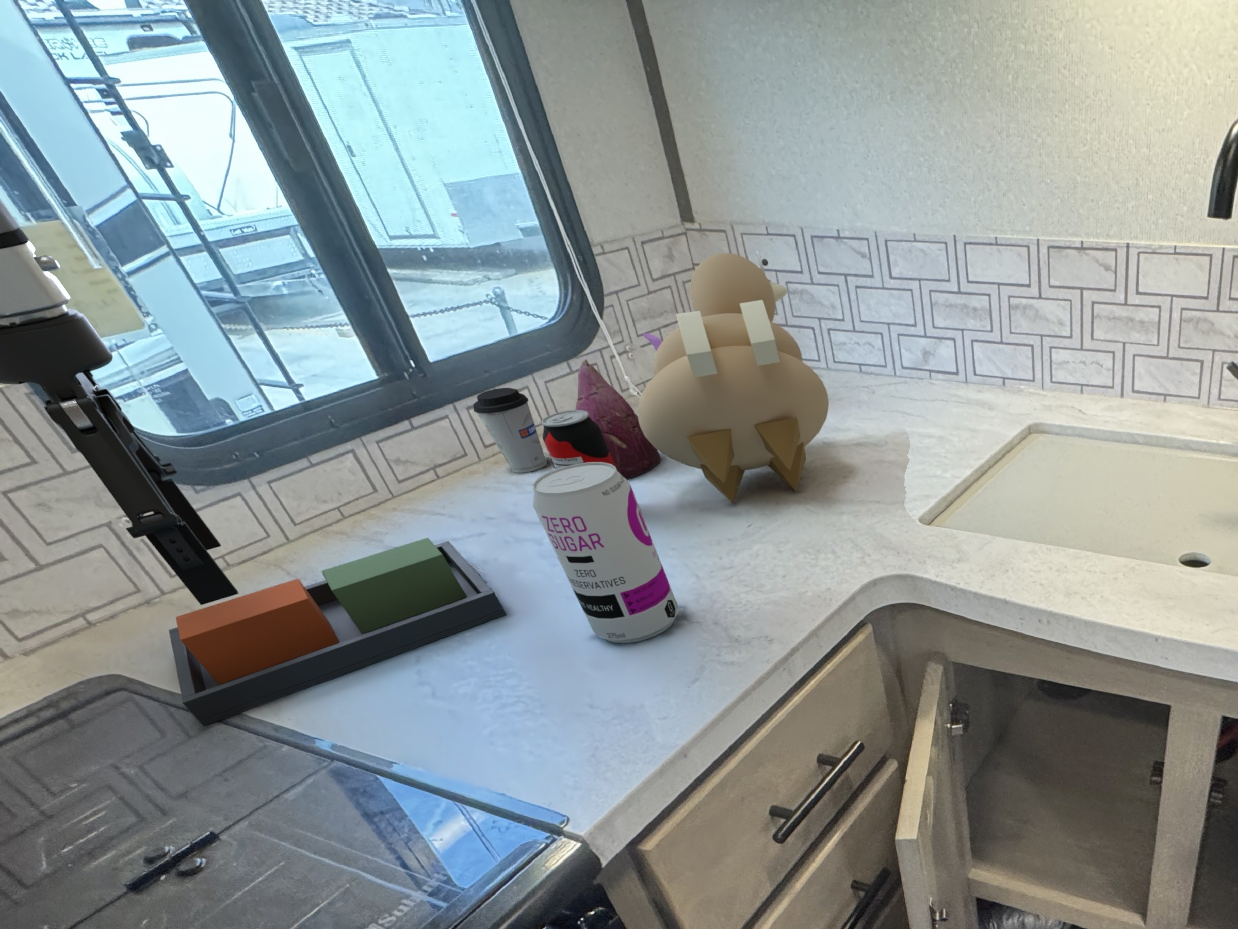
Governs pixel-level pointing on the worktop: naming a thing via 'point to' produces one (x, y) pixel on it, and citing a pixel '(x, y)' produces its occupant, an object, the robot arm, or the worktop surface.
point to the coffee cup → (511, 428)
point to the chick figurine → (732, 381)
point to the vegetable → (615, 423)
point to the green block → (394, 585)
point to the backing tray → (334, 647)
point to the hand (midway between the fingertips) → (211, 573)
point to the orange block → (255, 631)
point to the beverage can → (574, 439)
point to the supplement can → (605, 551)
